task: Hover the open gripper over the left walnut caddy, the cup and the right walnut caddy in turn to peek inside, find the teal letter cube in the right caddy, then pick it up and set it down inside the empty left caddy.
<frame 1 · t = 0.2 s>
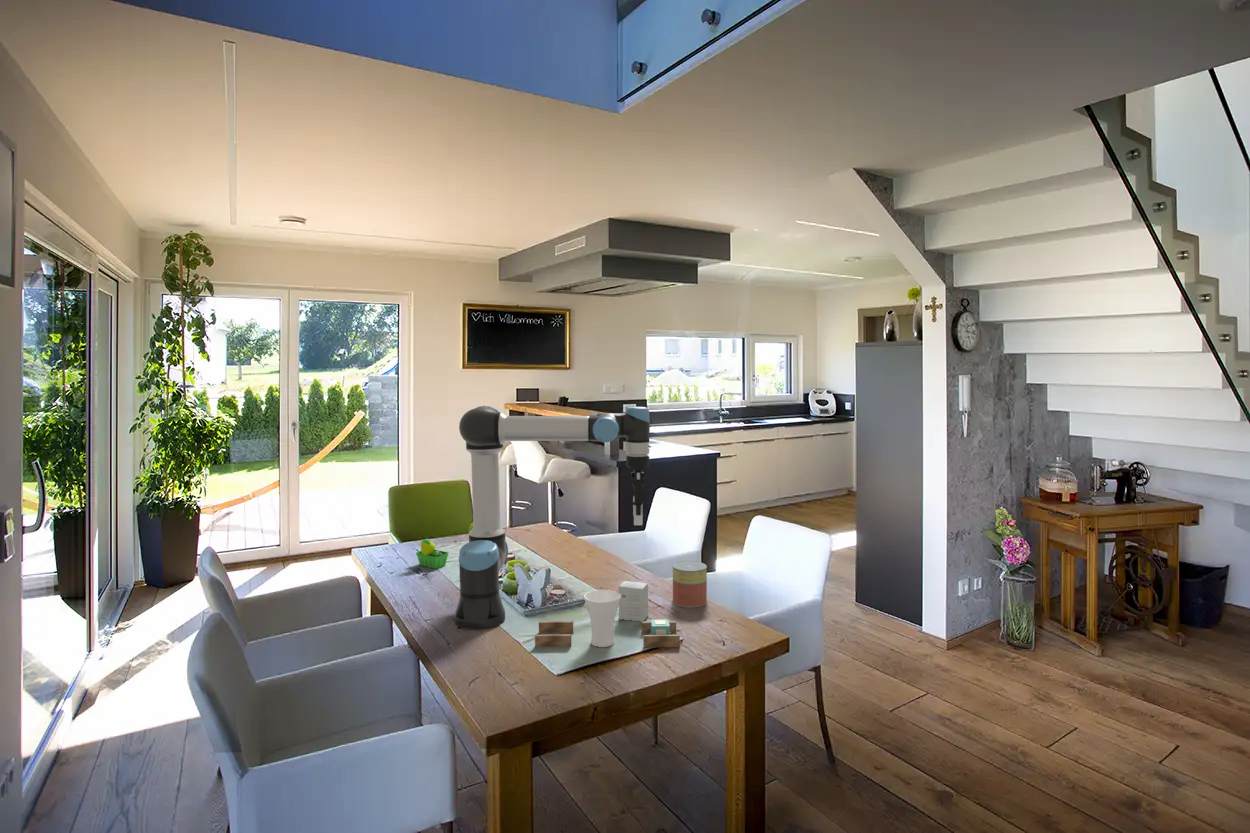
hand: (637, 520, 219), 28 cm above the table, fingers open, 13 cm apart
small box: (633, 618, 209), on the table
cup: (602, 643, 190), on the table
caddy right: (660, 639, 193), on the table
caddy left: (554, 639, 193), on the table
canned food: (689, 602, 224), on the table
fruit basket: (431, 566, 264), on the table
letter cube: (660, 639, 193), on the table
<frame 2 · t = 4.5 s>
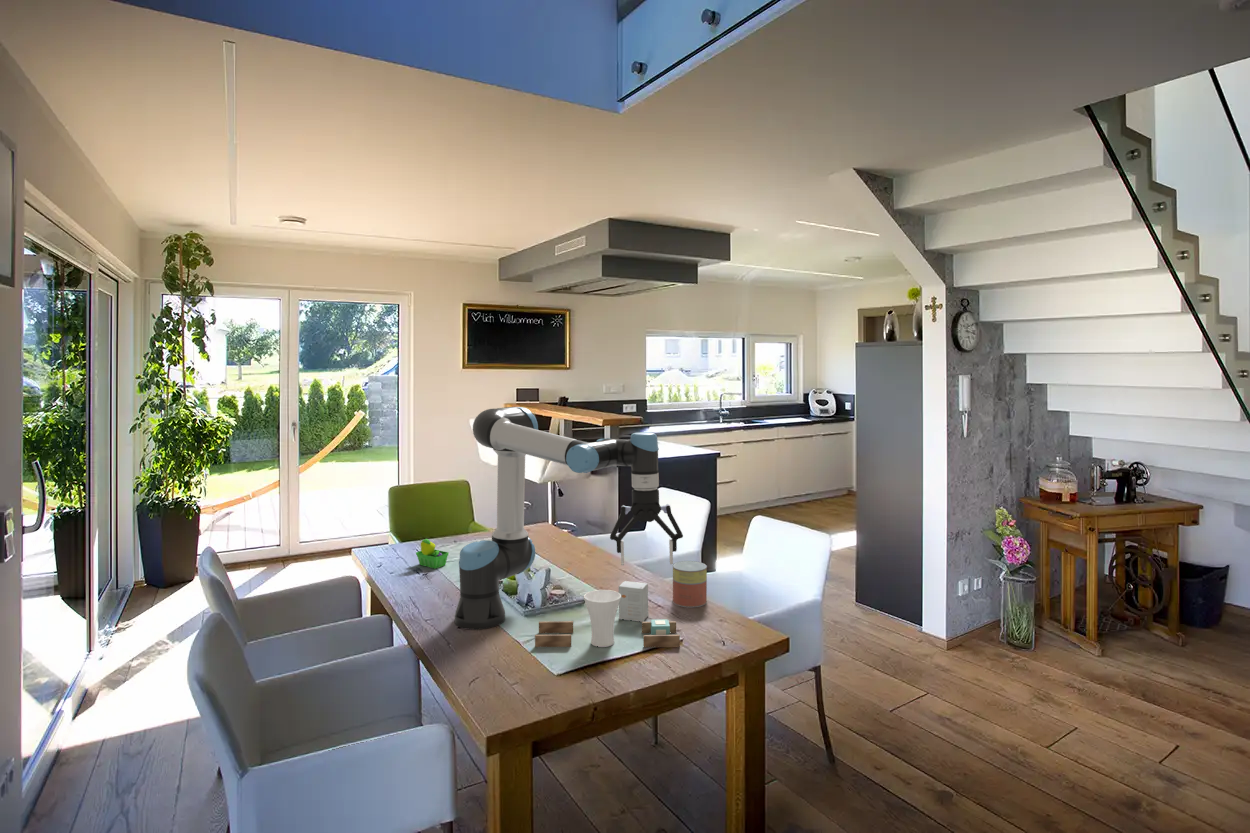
hand: (647, 563, 190), 22 cm above the table, fingers open, 13 cm apart
nothing on the table moved.
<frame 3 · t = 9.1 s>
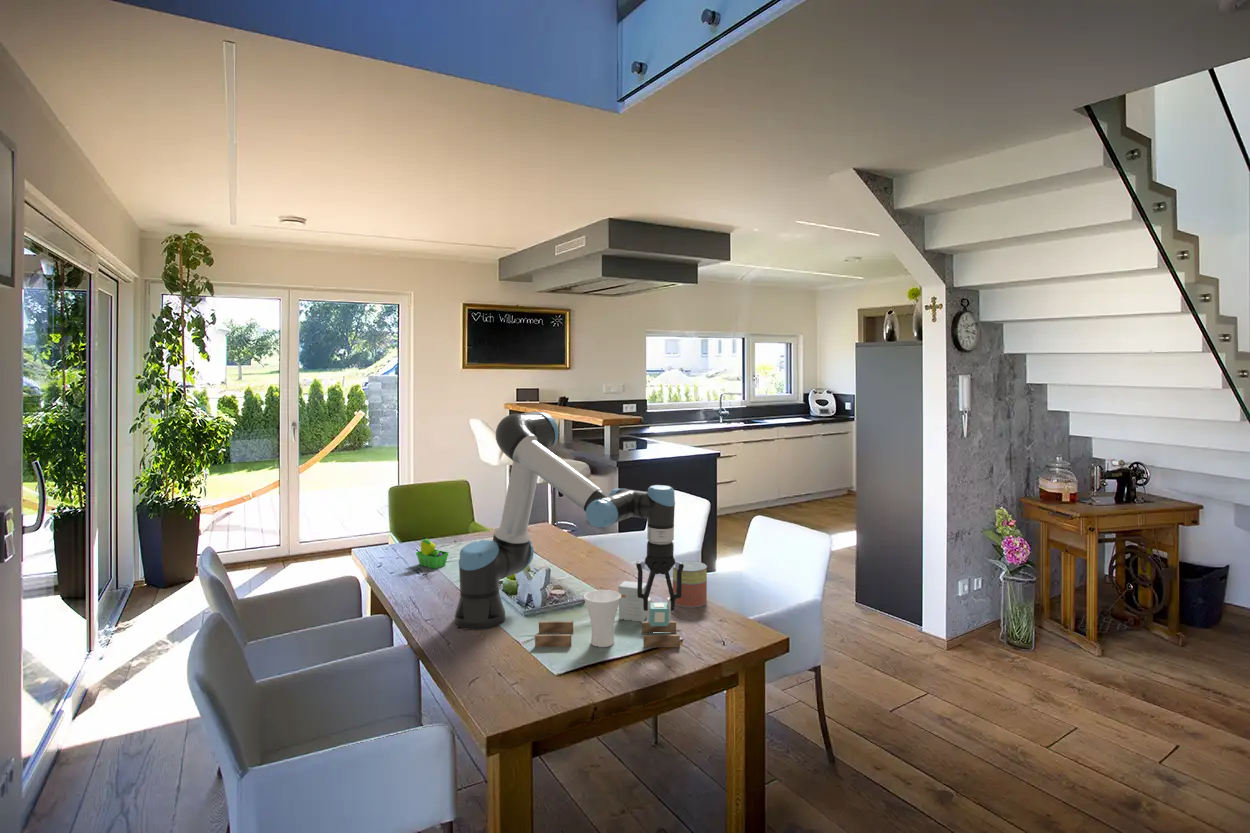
hand: (658, 621, 192), 5 cm above the table, fingers closed on letter cube, 5 cm apart
letter cube: (658, 622, 192), point 5 cm above the table, touching gripper
everything else where it was.
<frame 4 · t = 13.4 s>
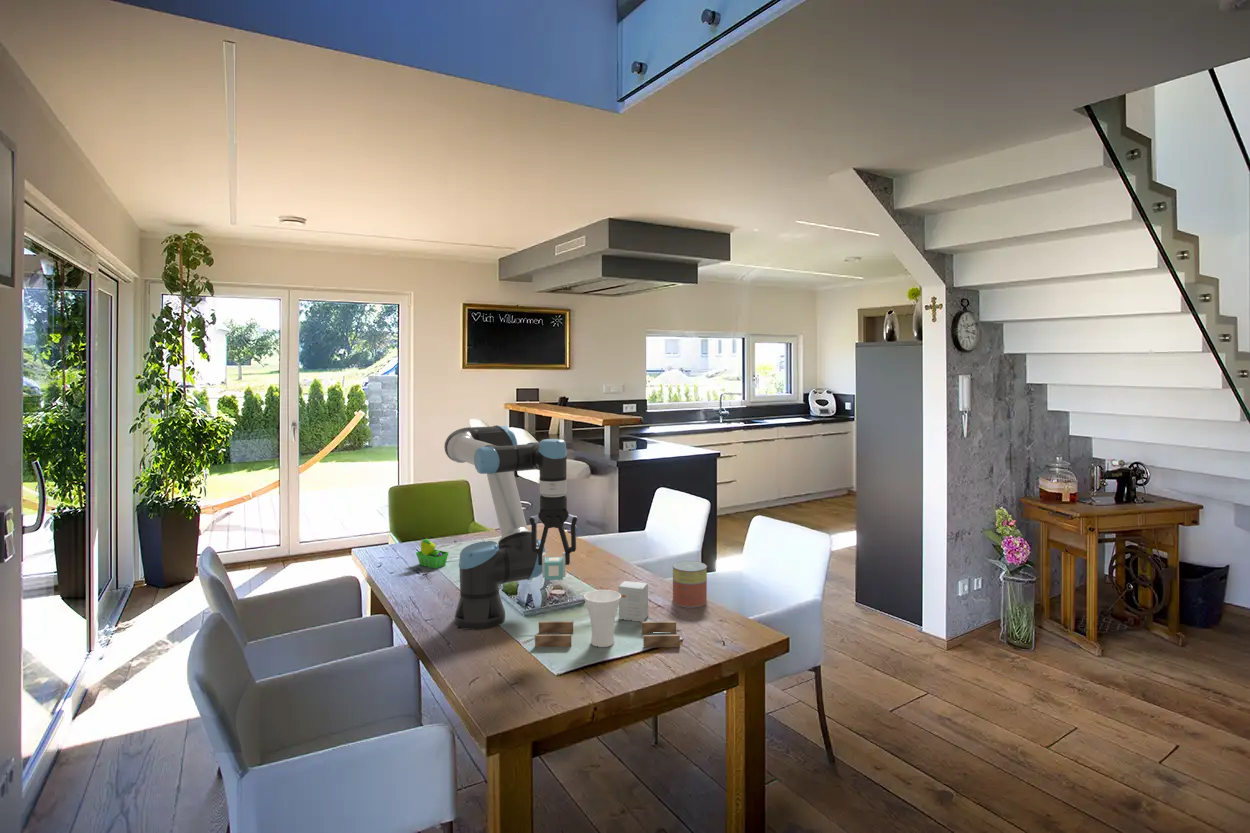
hand: (554, 575, 191), 18 cm above the table, fingers closed on letter cube, 5 cm apart
letter cube: (554, 577, 191), point 18 cm above the table, touching gripper
everything else where it was.
when the fingers open (0 cm above the table, at t = 17.9 s): letter cube stays where it is, on the table.
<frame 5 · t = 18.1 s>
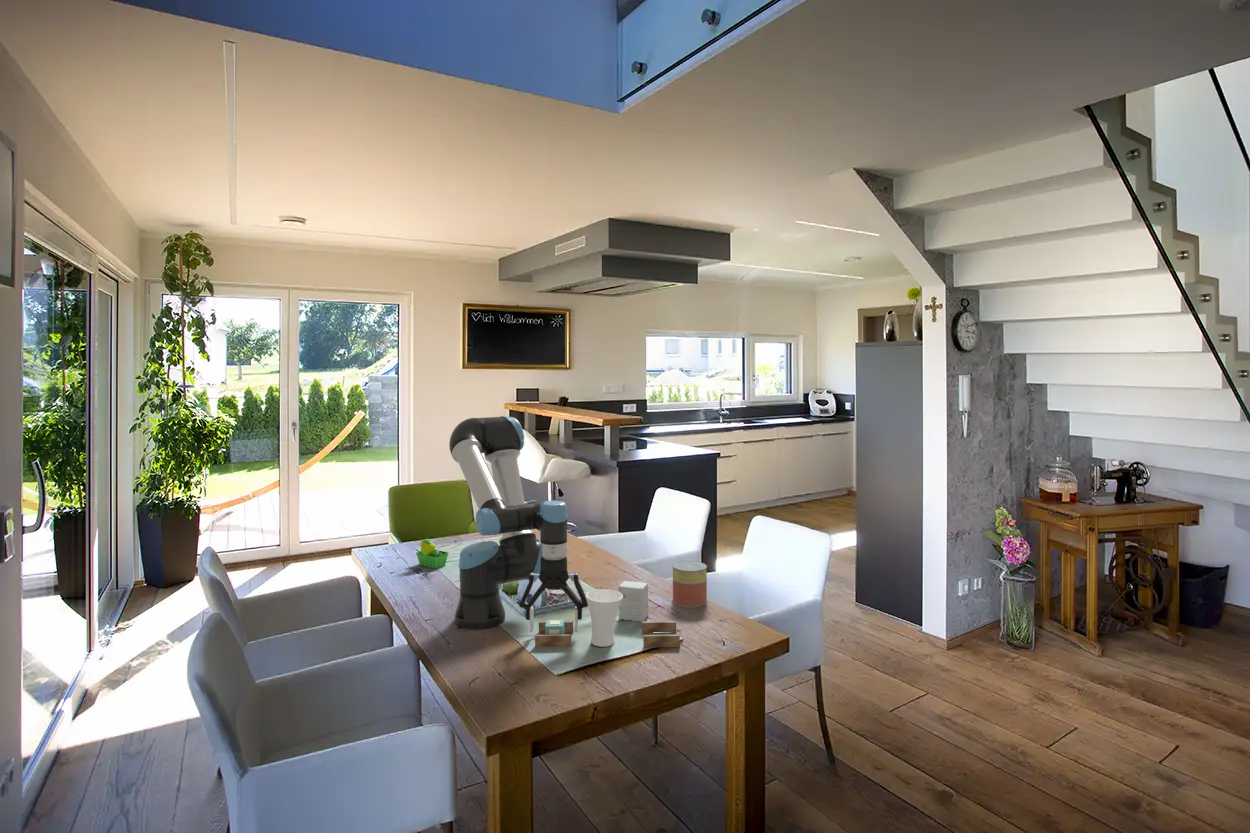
hand: (554, 630, 193), 2 cm above the table, fingers open, 12 cm apart
letter cube: (555, 639, 193), on the table
everything else where it was.
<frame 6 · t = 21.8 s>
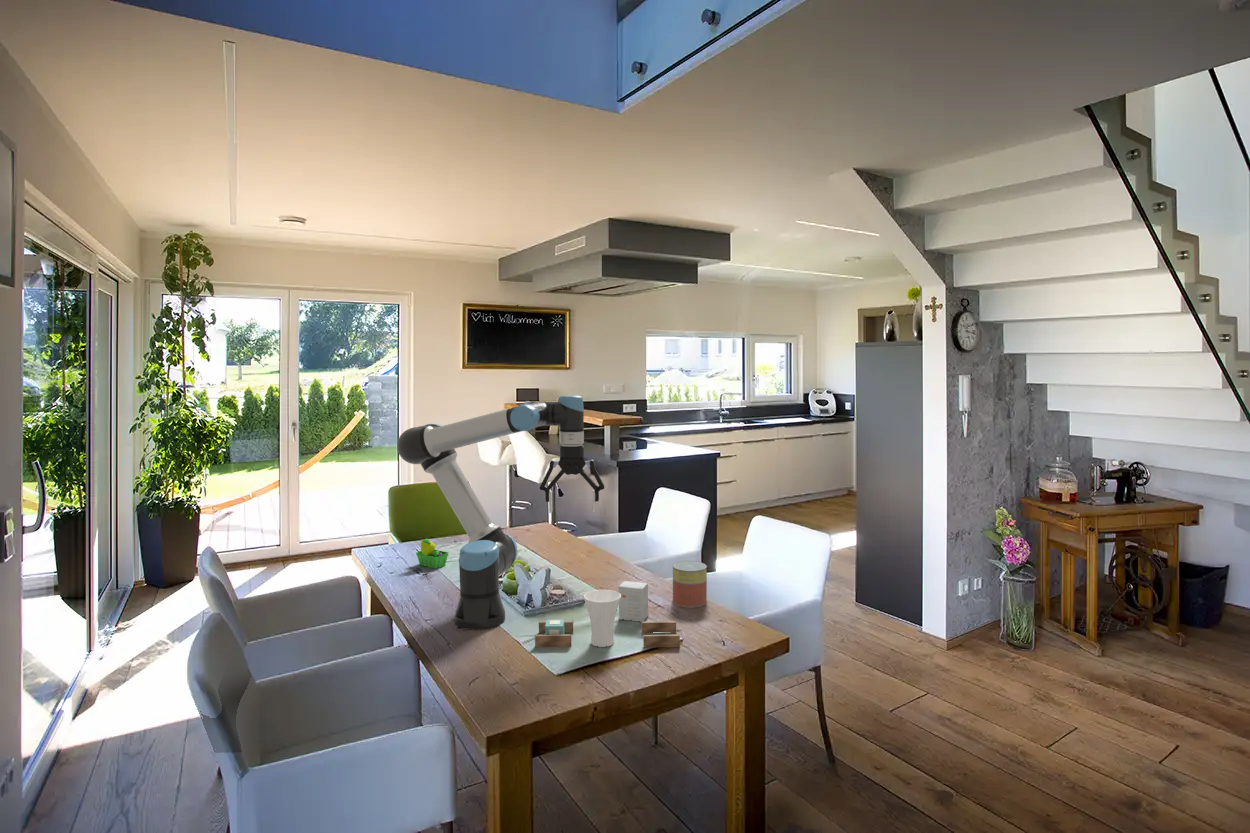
hand: (572, 511, 214), 32 cm above the table, fingers open, 13 cm apart
nothing on the table moved.
at the end: letter cube inside the target area on the caddy left (0.2 cm from its centre), point 0.0 cm above the caddy left's base; the gripper is holding nothing; cup moved 0.2 cm from its start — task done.
